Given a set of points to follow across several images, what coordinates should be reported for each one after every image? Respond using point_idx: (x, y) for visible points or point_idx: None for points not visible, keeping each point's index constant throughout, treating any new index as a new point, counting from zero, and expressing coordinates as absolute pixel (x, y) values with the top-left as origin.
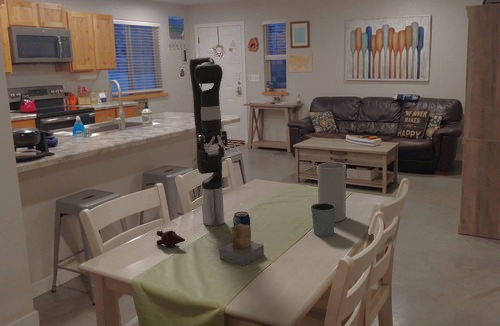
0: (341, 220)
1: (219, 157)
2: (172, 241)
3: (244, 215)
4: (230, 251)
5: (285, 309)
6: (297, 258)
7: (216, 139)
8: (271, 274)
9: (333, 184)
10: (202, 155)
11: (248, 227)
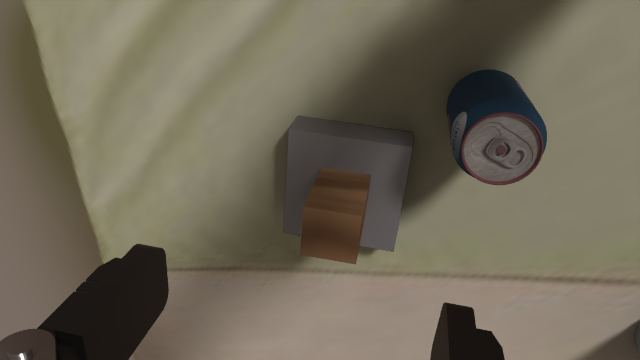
0: None
1: (443, 307)
2: None
3: (491, 171)
4: (288, 180)
5: None
6: (416, 321)
7: None
8: (289, 297)
9: None
10: (62, 306)
11: (346, 260)
